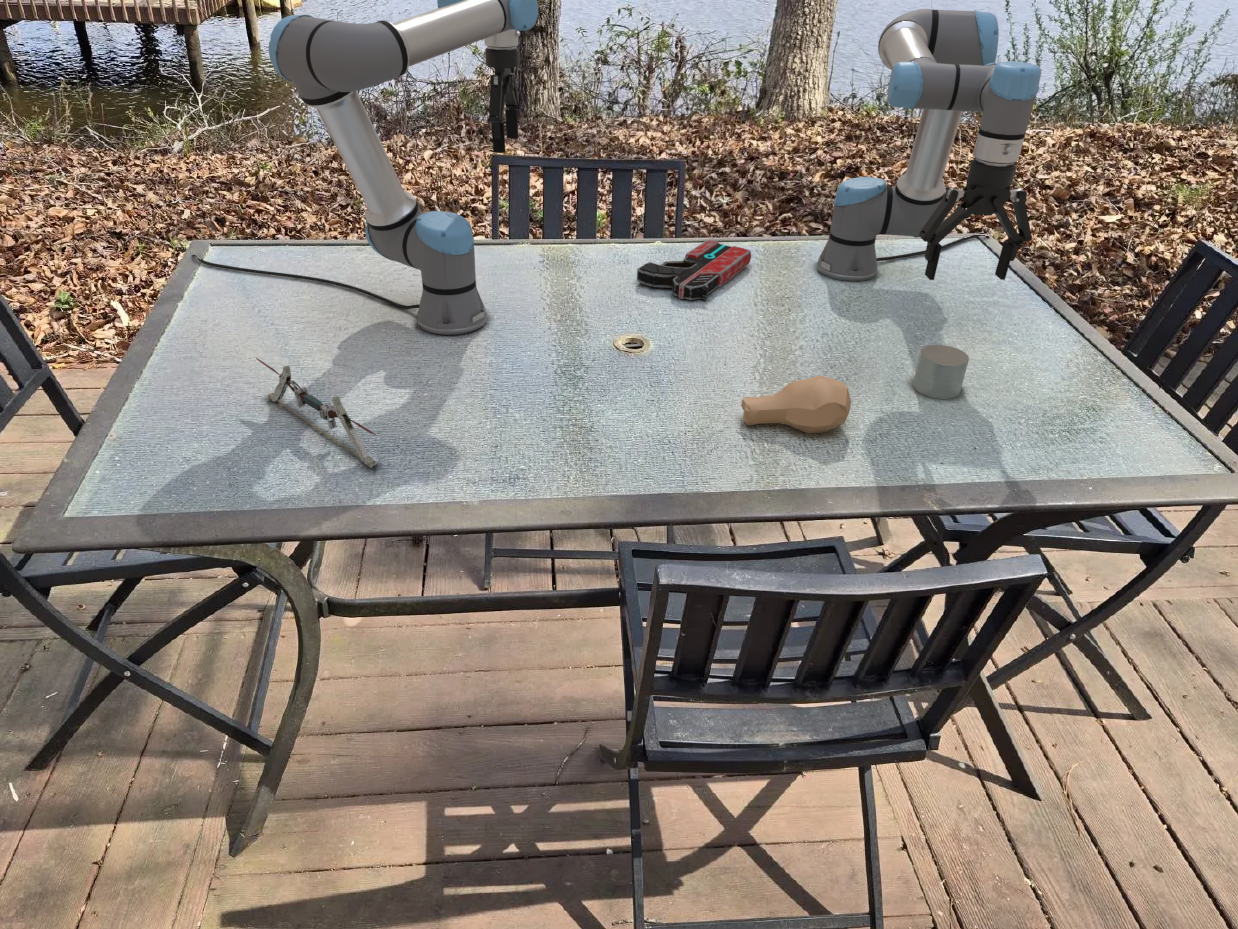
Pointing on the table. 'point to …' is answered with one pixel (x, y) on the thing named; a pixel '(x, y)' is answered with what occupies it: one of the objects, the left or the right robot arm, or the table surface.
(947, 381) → the canister
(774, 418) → the squash
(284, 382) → the bow
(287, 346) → the table surface
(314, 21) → the left robot arm
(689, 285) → the gun
